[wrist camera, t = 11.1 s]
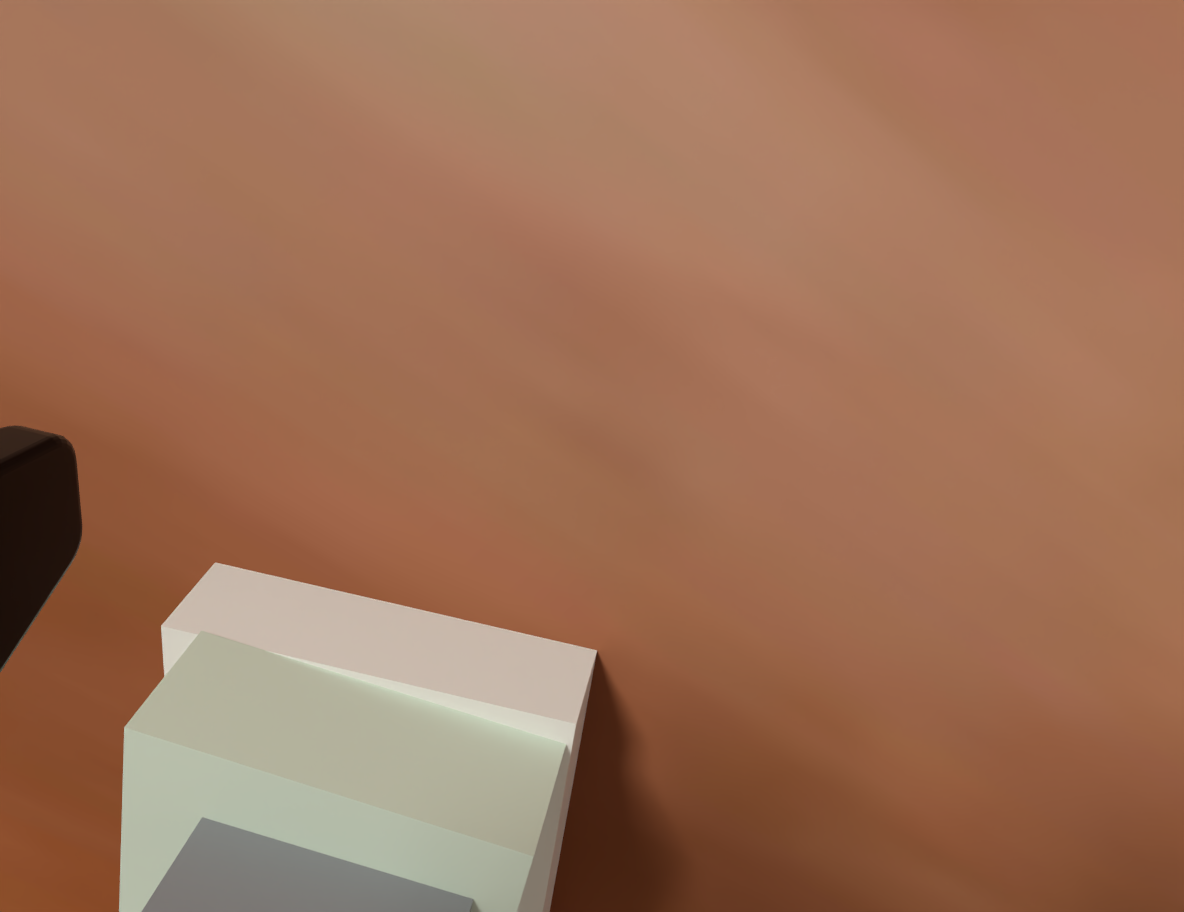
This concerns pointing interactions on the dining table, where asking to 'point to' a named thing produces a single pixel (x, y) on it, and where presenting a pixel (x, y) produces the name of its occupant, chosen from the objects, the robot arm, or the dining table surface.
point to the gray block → (283, 879)
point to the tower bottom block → (409, 667)
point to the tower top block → (330, 775)
